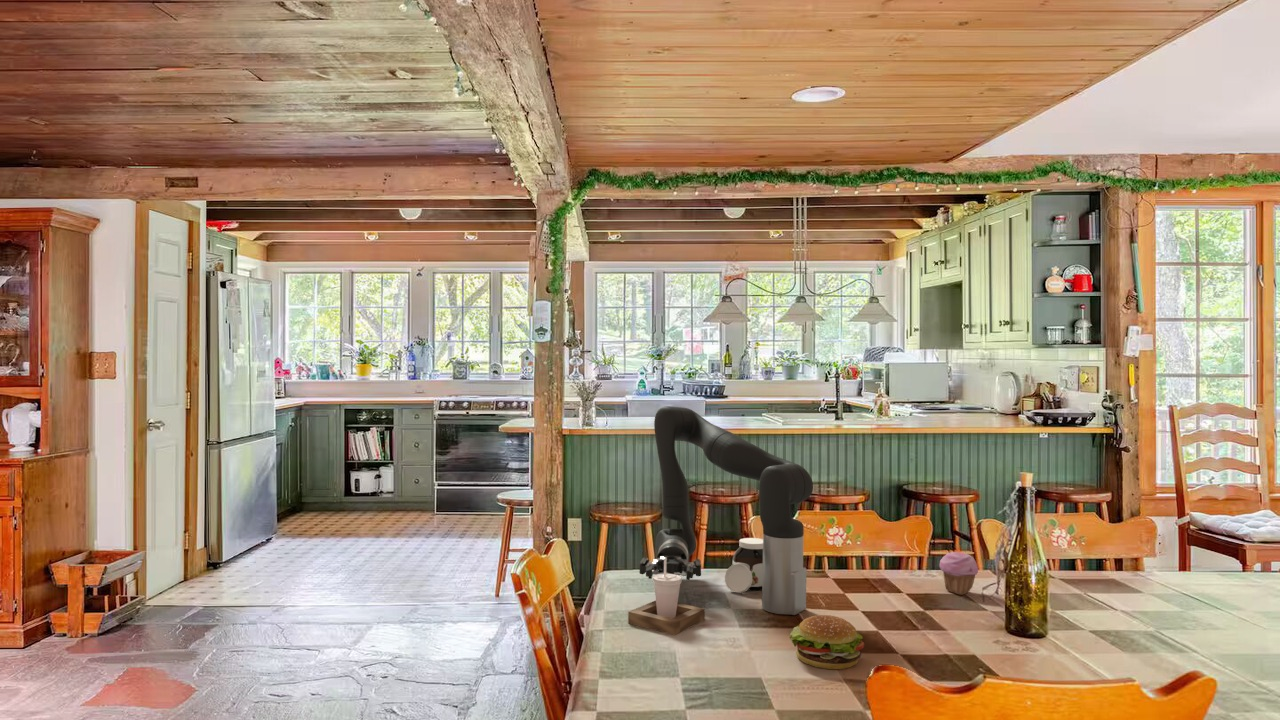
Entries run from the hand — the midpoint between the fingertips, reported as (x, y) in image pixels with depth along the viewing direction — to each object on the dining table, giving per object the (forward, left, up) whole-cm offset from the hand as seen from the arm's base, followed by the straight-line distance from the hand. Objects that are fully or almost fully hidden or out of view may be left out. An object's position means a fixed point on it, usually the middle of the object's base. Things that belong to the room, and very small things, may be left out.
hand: (669, 575), depth 180 cm
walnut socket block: (-2, +4, -9) cm, 10 cm away
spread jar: (-4, -30, -9) cm, 31 cm away
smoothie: (-2, +4, -9) cm, 10 cm away
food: (-38, +3, -9) cm, 40 cm away
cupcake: (-47, -60, -9) cm, 77 cm away
